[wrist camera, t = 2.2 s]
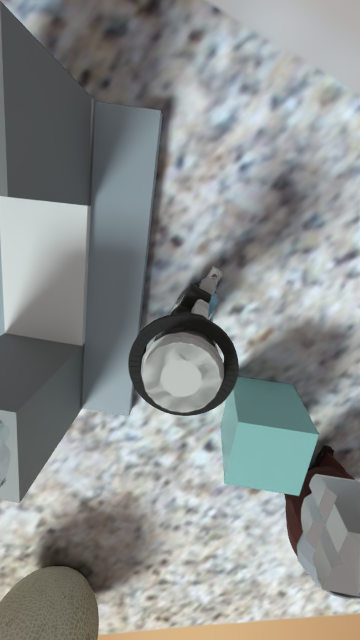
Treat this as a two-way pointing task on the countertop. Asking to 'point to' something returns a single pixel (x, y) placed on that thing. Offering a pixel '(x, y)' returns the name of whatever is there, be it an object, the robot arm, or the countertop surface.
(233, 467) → the block
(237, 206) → the countertop surface
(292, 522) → the mate gourd
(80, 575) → the fruit
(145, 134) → the gray block stand
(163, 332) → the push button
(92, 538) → the countertop surface
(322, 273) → the countertop surface
